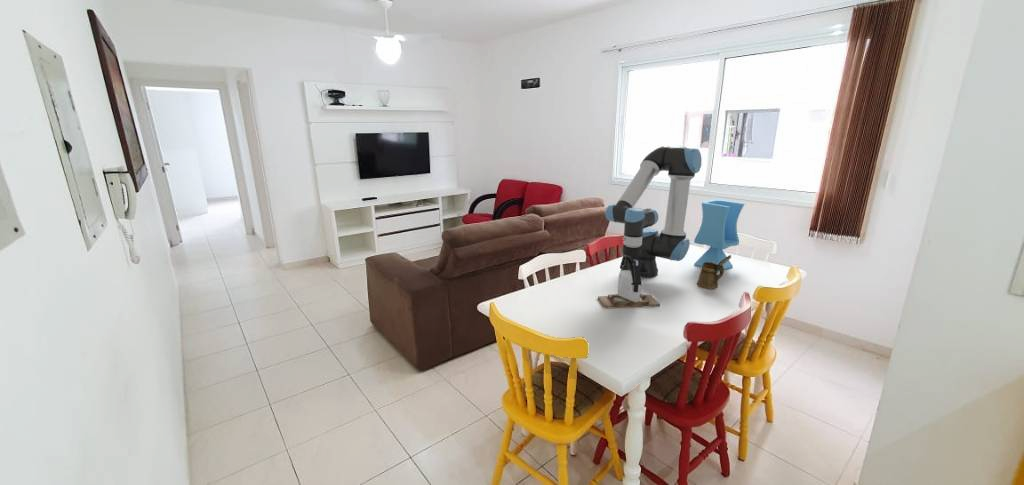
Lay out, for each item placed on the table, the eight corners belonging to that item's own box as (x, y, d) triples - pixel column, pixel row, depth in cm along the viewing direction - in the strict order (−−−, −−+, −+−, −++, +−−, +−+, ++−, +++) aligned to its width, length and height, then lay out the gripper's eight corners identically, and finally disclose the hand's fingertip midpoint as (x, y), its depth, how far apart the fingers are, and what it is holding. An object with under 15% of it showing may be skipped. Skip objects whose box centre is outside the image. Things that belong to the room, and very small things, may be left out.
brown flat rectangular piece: (604, 308, 170) (604, 301, 170) (597, 298, 180) (598, 292, 179) (659, 306, 171) (660, 300, 171) (650, 296, 181) (651, 290, 180)
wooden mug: (720, 294, 183) (726, 256, 178) (692, 285, 193) (697, 249, 188) (730, 290, 188) (736, 253, 183) (703, 281, 198) (707, 246, 193)
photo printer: (641, 300, 172) (643, 273, 169) (634, 303, 170) (637, 275, 166) (622, 293, 180) (624, 267, 177) (615, 295, 178) (617, 269, 174)
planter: (718, 273, 208) (728, 207, 199) (691, 265, 221) (699, 202, 211) (735, 267, 217) (744, 203, 207) (707, 260, 229) (715, 199, 219)
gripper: (614, 237, 180) (611, 281, 186) (633, 254, 156) (629, 304, 162) (631, 236, 181) (627, 281, 187) (652, 253, 157) (648, 303, 163)
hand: (628, 292), depth 174 cm, fingers open, 13 cm apart
